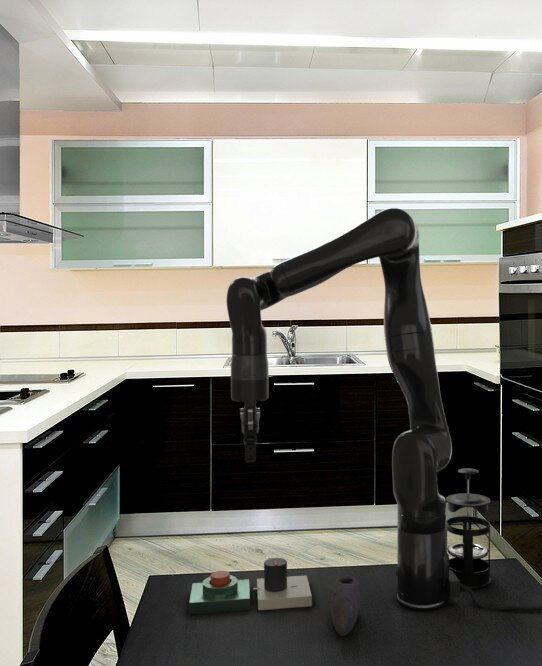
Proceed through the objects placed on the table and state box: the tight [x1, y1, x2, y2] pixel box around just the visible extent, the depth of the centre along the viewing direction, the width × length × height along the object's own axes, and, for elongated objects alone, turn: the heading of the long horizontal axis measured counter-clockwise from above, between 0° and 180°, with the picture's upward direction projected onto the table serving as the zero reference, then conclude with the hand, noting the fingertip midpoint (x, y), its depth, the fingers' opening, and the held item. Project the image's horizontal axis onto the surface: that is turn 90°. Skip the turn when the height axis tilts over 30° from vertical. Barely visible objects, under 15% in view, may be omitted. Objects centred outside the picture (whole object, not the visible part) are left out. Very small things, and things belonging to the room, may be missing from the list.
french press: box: [445, 467, 492, 591], centre depth 139 cm, size 12×9×23 cm
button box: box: [188, 574, 251, 615], centre depth 129 cm, size 11×9×4 cm
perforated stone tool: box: [330, 570, 361, 637], centre depth 120 cm, size 15×5×7 cm, turn 175°
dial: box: [263, 557, 288, 592], centre depth 131 cm, size 4×4×5 cm
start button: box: [210, 570, 231, 586], centre depth 129 cm, size 4×4×2 cm
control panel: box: [252, 574, 313, 611], centre depth 131 cm, size 11×10×2 cm
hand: (250, 461), depth 137 cm, fingers closed
